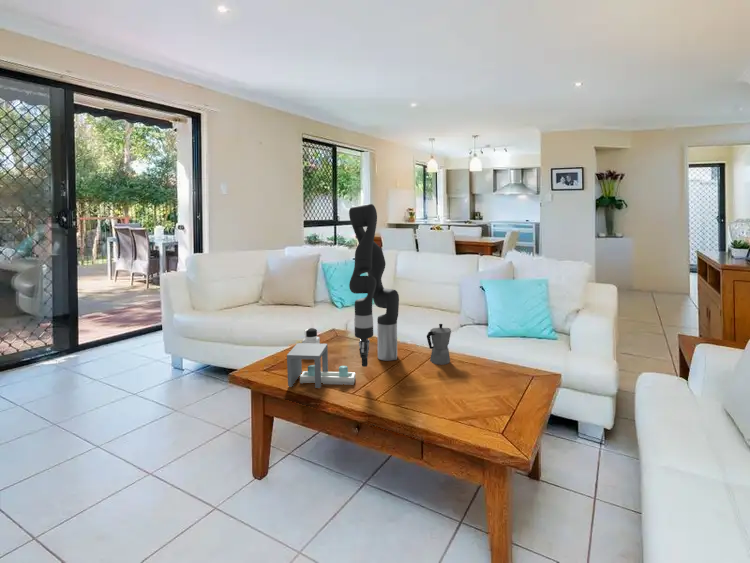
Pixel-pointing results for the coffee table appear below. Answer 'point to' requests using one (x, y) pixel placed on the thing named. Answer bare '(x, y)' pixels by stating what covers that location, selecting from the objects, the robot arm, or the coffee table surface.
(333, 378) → the tray
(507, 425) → the coffee table surface
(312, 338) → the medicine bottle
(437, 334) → the coffeepot
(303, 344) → the grey stand
